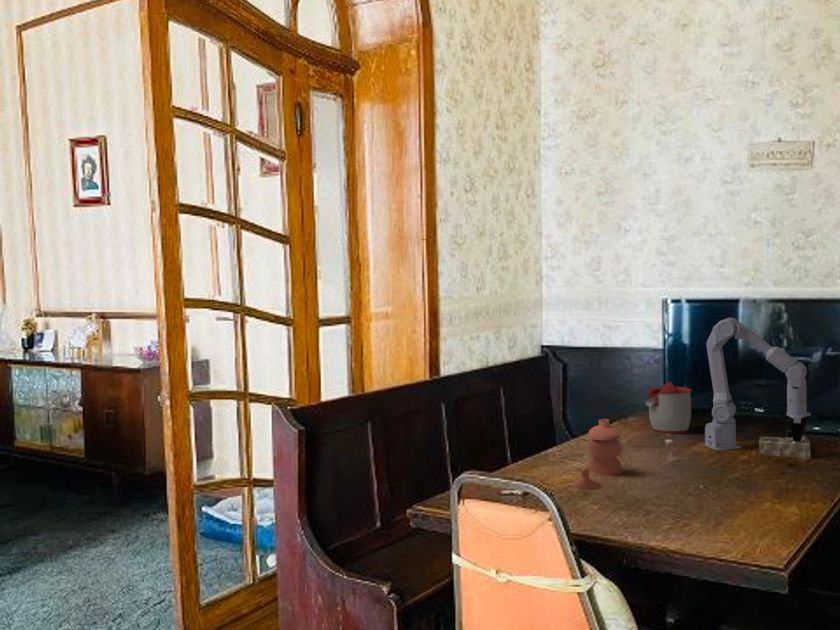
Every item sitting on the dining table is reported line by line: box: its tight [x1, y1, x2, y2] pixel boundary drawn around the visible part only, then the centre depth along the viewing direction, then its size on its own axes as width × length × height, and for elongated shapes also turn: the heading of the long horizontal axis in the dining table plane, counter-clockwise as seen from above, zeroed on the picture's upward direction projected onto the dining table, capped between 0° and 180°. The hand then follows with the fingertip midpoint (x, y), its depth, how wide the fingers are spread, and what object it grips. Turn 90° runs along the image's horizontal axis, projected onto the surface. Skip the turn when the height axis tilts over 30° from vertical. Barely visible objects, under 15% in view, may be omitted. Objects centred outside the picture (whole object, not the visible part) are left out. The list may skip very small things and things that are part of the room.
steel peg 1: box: [765, 439, 778, 442], centre depth 258 cm, size 4×4×5 cm
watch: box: [785, 429, 809, 439], centre depth 264 cm, size 6×8×11 cm
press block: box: [758, 436, 811, 460], centre depth 256 cm, size 15×9×5 cm, turn 65°
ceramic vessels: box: [570, 418, 623, 491], centre depth 222 cm, size 35×21×19 cm, turn 151°
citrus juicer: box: [645, 381, 692, 435], centre depth 293 cm, size 16×17×20 cm
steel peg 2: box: [790, 439, 804, 443], centre depth 255 cm, size 4×4×5 cm
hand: (797, 440), depth 254 cm, fingers closed, pressing on steel peg 2
